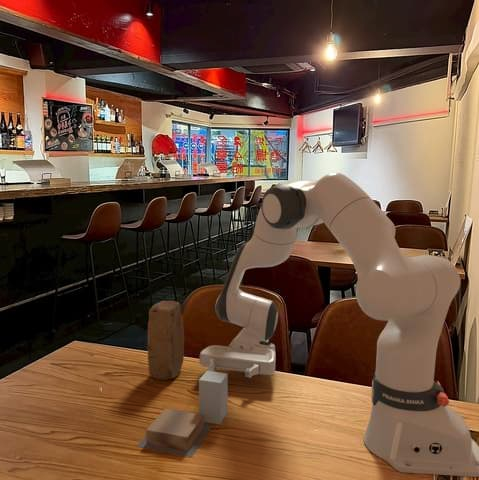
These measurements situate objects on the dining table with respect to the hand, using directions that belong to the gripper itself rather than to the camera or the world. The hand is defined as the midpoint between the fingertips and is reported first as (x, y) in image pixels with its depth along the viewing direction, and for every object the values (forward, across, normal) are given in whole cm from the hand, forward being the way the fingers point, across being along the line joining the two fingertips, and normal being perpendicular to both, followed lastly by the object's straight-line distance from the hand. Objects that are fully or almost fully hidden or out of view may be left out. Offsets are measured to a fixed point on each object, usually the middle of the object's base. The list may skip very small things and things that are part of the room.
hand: (229, 372), depth 117 cm
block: (-6, -20, +6) cm, 22 cm away
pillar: (+12, 0, +6) cm, 14 cm away
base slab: (+22, -5, +5) cm, 23 cm away
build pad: (+22, -5, +6) cm, 23 cm away
